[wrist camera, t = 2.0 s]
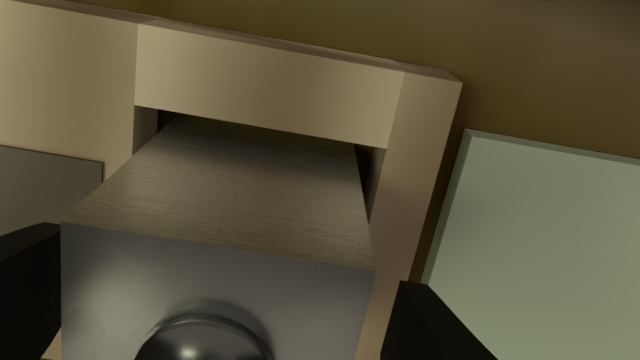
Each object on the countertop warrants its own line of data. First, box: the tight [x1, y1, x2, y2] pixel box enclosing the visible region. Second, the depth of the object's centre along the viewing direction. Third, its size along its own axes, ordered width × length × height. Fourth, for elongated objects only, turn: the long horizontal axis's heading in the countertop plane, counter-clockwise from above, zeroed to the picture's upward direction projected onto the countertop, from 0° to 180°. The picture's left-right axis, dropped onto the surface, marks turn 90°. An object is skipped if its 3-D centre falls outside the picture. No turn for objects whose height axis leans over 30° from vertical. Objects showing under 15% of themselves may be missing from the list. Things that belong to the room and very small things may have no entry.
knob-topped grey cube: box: [60, 113, 376, 360], centre depth 12 cm, size 5×5×7 cm
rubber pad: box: [420, 129, 640, 360], centre depth 16 cm, size 9×9×1 cm
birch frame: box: [0, 0, 463, 360], centre depth 14 cm, size 12×10×2 cm
